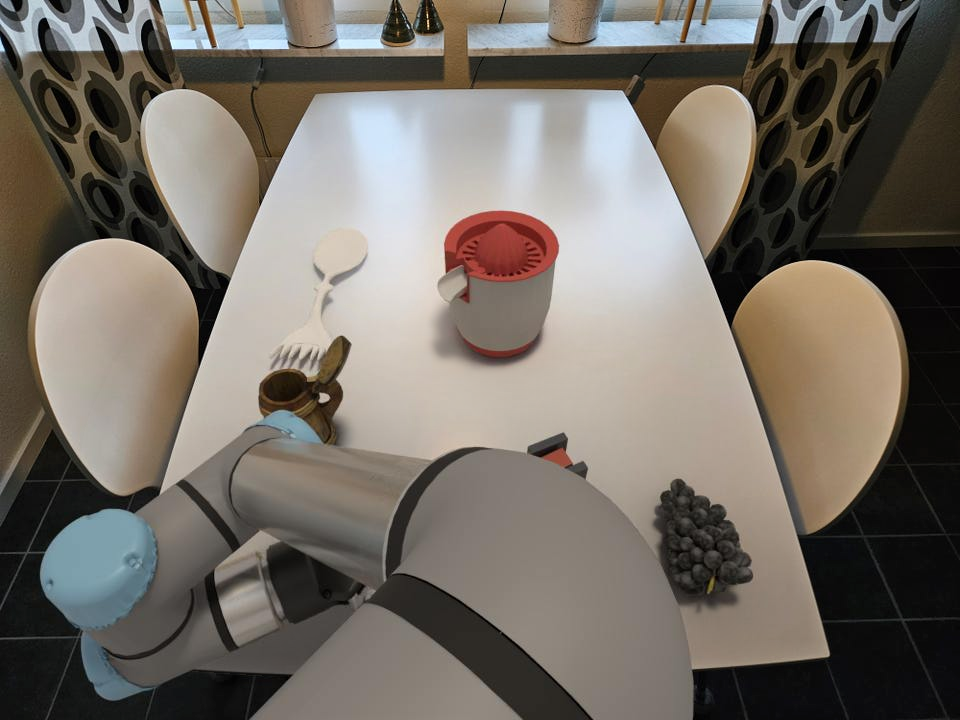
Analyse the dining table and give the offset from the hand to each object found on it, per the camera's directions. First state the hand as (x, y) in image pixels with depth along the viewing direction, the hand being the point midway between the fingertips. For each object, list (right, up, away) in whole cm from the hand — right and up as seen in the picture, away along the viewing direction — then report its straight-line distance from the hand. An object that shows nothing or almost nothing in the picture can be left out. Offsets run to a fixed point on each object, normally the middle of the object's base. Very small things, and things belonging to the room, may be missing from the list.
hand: (498, 493), depth 67 cm
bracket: (+6, -6, +11) cm, 14 cm away
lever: (+1, 0, +1) cm, 2 cm away
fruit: (+23, -8, +9) cm, 26 cm away
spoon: (-27, +24, +39) cm, 52 cm away
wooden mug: (-23, +3, +20) cm, 31 cm away
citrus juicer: (0, +18, +33) cm, 38 cm away
